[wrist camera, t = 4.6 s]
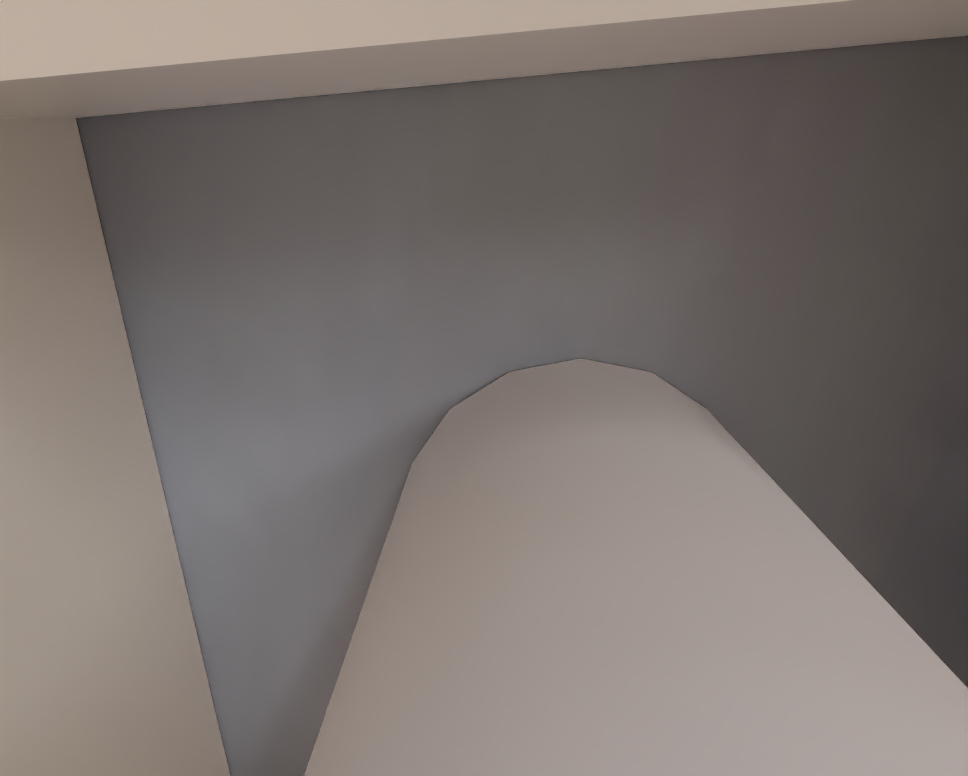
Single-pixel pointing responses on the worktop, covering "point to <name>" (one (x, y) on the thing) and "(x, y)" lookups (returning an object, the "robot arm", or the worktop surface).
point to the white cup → (622, 608)
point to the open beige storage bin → (100, 327)
